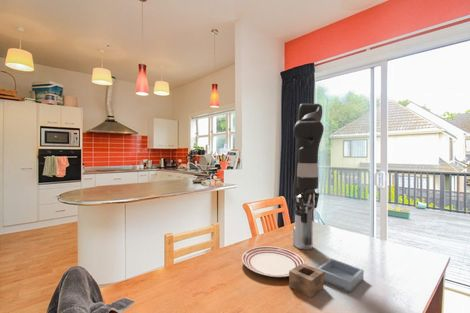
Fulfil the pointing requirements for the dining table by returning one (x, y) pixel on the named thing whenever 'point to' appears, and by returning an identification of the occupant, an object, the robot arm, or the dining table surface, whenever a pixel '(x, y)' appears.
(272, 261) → the dinner plate
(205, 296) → the dining table surface
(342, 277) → the tray
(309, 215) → the pin
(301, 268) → the block
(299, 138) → the robot arm
